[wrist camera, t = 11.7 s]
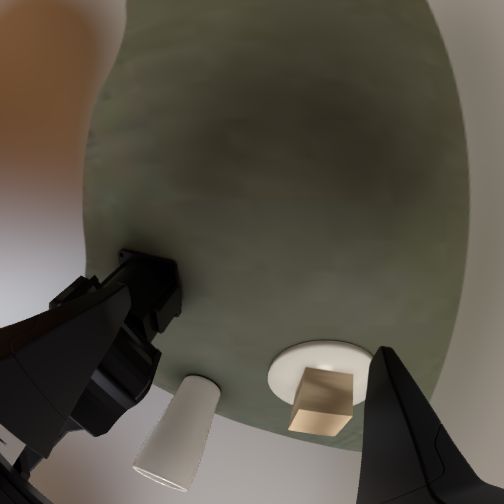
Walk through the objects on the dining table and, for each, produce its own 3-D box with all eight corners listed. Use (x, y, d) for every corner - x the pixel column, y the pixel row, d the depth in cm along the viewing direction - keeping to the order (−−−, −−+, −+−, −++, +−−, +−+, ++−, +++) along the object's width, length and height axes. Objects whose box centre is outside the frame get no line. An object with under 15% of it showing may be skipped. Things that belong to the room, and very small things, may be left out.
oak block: (295, 391, 27) (288, 429, 23) (305, 366, 25) (299, 409, 21) (337, 398, 27) (334, 436, 22) (353, 374, 24) (352, 416, 20)
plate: (263, 394, 31) (261, 400, 30) (278, 329, 25) (276, 337, 24) (355, 408, 29) (355, 415, 28) (397, 349, 23) (398, 357, 22)
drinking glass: (222, 375, 31) (176, 484, 18) (230, 402, 34) (195, 496, 21) (173, 365, 32) (120, 459, 19) (187, 393, 35) (145, 477, 23)
